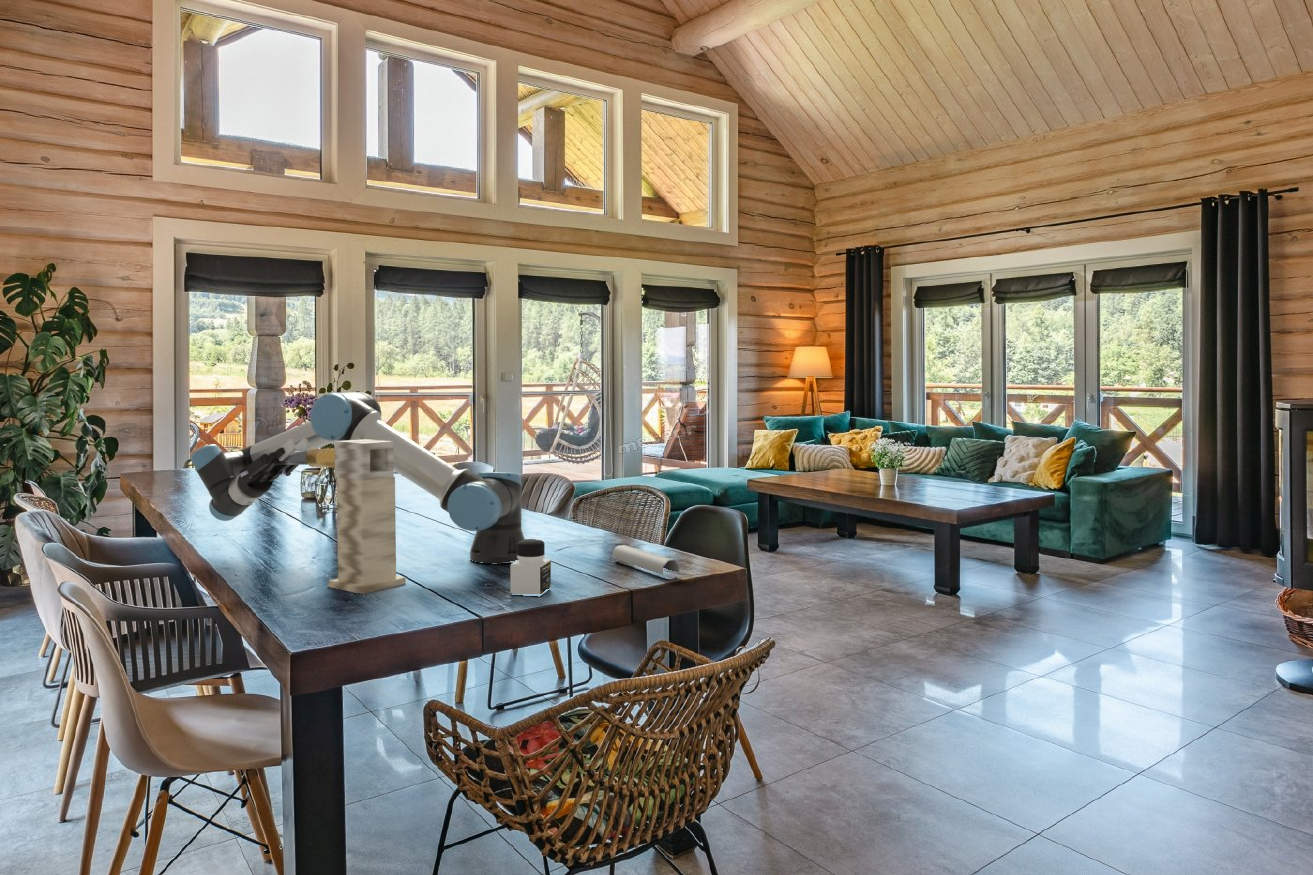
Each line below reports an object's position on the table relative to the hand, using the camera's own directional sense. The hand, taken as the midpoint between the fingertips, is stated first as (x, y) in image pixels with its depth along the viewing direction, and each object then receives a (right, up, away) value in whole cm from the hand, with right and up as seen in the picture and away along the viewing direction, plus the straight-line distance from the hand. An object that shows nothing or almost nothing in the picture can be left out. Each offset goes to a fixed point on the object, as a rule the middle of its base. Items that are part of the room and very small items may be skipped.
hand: (300, 443), depth 213 cm
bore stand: (+19, -32, -10) cm, 39 cm away
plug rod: (+2, -6, -1) cm, 6 cm away
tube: (+83, -32, +9) cm, 89 cm away
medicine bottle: (+58, -34, -16) cm, 69 cm away
